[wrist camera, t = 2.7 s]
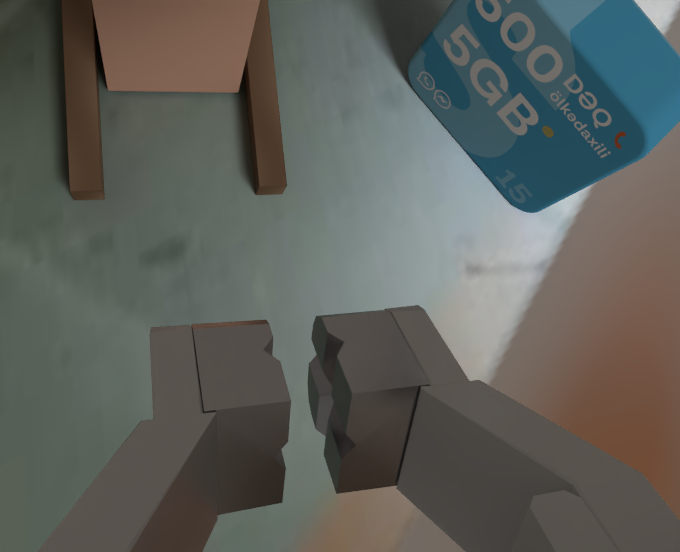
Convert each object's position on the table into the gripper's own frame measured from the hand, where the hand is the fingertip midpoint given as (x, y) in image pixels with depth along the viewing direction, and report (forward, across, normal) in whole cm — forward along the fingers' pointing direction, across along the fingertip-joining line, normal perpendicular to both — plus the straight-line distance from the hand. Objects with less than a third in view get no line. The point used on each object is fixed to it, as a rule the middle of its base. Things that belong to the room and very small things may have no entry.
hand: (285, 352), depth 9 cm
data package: (+28, -19, +8) cm, 35 cm away
